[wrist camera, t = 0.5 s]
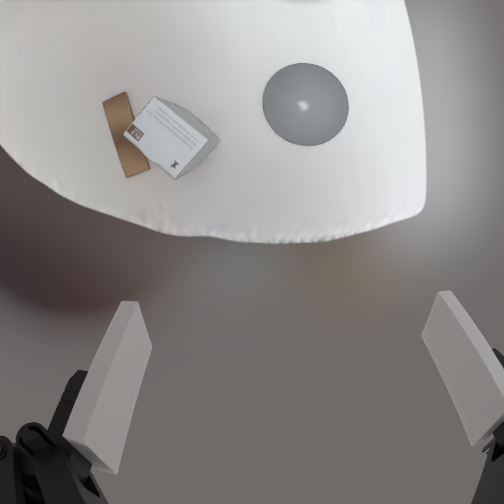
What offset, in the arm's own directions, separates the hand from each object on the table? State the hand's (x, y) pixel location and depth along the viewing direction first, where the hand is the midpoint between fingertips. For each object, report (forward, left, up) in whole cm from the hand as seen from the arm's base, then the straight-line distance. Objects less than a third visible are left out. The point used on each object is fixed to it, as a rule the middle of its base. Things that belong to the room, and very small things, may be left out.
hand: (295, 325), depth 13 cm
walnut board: (-13, -12, -25) cm, 31 cm away
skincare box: (-10, -5, -26) cm, 28 cm away
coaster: (-10, +9, -25) cm, 29 cm away
